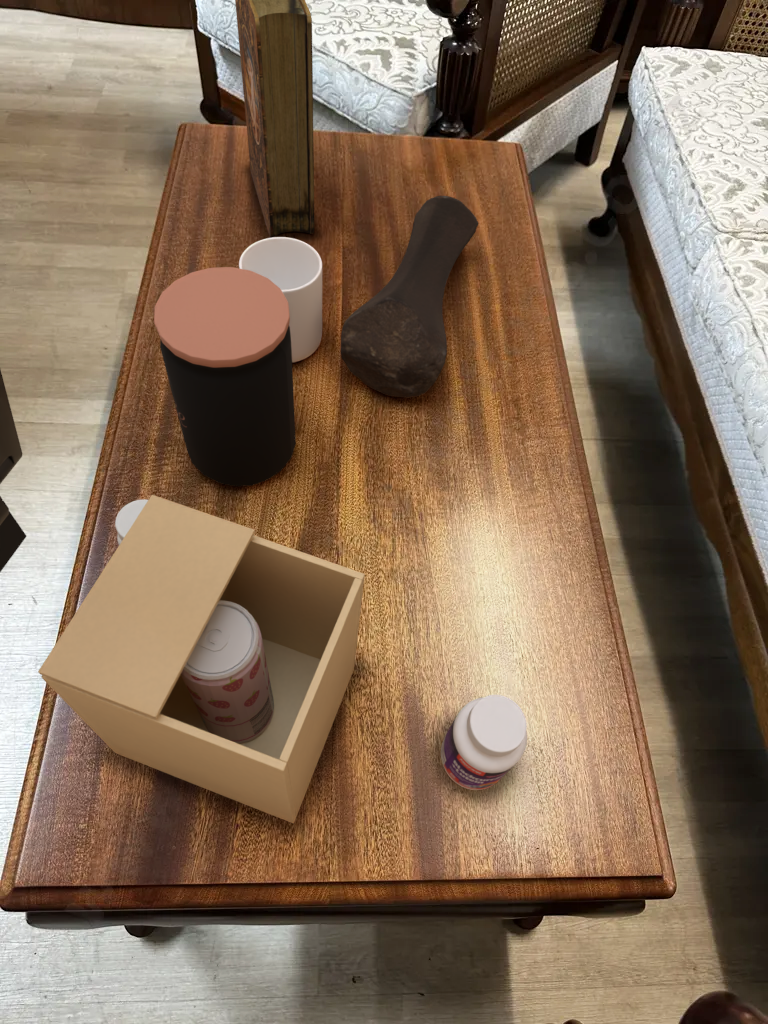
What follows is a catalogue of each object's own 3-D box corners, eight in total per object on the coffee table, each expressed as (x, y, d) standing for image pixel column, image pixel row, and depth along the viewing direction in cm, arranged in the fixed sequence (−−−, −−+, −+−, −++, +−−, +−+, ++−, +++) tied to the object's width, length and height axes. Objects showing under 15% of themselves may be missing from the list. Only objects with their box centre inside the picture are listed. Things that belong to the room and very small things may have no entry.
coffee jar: (218, 394, 76) (192, 251, 60) (312, 426, 74) (310, 287, 59) (168, 471, 70) (126, 335, 55) (269, 506, 69) (255, 377, 54)
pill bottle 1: (165, 601, 63) (145, 555, 56) (121, 576, 64) (96, 528, 57) (198, 560, 65) (183, 511, 58) (156, 537, 66) (136, 485, 59)
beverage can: (204, 676, 59) (172, 597, 46) (274, 673, 60) (262, 594, 47) (200, 746, 56) (164, 683, 43) (274, 743, 57) (260, 679, 44)
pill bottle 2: (437, 786, 56) (457, 756, 48) (442, 718, 59) (461, 679, 51) (505, 796, 56) (537, 767, 48) (507, 727, 59) (537, 689, 51)
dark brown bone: (397, 424, 78) (448, 285, 95) (458, 369, 70) (501, 229, 88) (314, 365, 75) (383, 232, 92) (369, 301, 67) (432, 169, 85)
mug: (209, 361, 78) (194, 286, 69) (219, 308, 82) (207, 231, 74) (320, 368, 79) (319, 294, 70) (324, 315, 83) (324, 239, 74)
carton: (114, 752, 56) (40, 677, 41) (193, 609, 63) (153, 499, 48) (293, 823, 54) (283, 771, 39) (354, 668, 61) (365, 573, 46)
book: (248, 165, 97) (228, -56, 76) (288, 161, 98) (279, -58, 77) (271, 243, 89) (255, 19, 68) (314, 238, 90) (312, 16, 69)
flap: (39, 674, 41) (37, 671, 40) (152, 497, 47) (151, 494, 47) (156, 719, 40) (155, 717, 39) (255, 532, 47) (254, 529, 46)
